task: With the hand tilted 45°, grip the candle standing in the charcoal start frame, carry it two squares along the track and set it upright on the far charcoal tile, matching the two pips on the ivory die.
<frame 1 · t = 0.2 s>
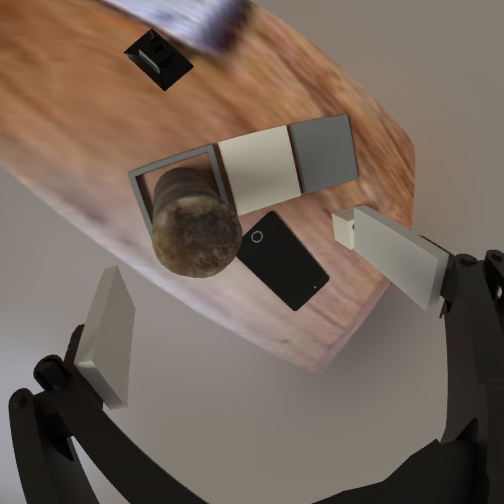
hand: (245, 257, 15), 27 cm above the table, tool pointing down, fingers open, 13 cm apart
black chunky piece: (157, 59, 32), on the table
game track: (253, 170, 41), on the table
cell phone: (282, 264, 49), on the table
die: (345, 222, 49), on the table
candle: (180, 193, 40), resting in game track
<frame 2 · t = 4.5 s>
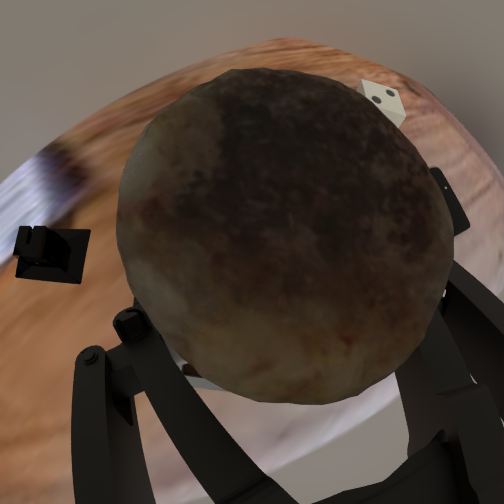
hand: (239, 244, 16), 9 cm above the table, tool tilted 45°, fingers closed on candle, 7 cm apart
black chunky piece: (53, 256, 24), on the table
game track: (259, 200, 27), on the table
cell phone: (407, 216, 29), on the table
die: (368, 123, 32), on the table
candle: (247, 319, 24), resting in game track, touching gripper
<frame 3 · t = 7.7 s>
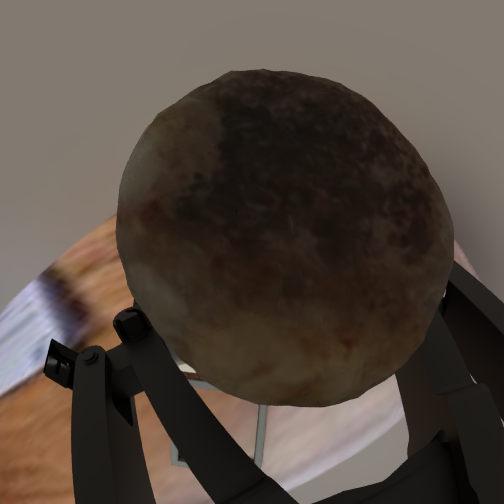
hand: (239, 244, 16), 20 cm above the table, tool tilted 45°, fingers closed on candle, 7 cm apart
black chunky piece: (74, 369, 31), on the table
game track: (224, 342, 34), on the table
candle: (247, 319, 24), point 11 cm above the table, touching gripper
when the fingers open (11 cm above the table, at t = 11.3 s): candle drops 1 cm, resting on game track.
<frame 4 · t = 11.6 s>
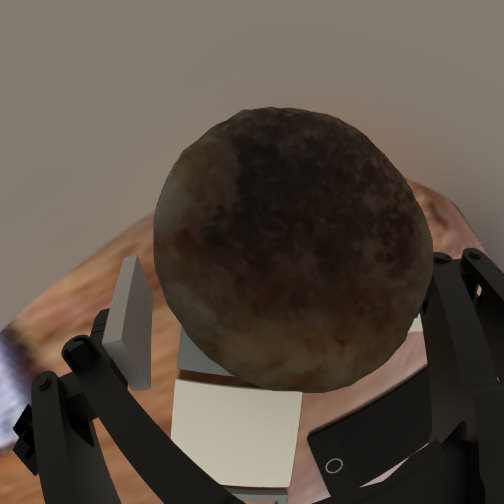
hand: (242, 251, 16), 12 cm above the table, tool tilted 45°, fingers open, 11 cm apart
black chunky piece: (49, 446, 20), on the table
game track: (232, 445, 22), on the table
cell phone: (392, 427, 23), on the table
candle: (248, 321, 25), point 1 cm above the table, touching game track
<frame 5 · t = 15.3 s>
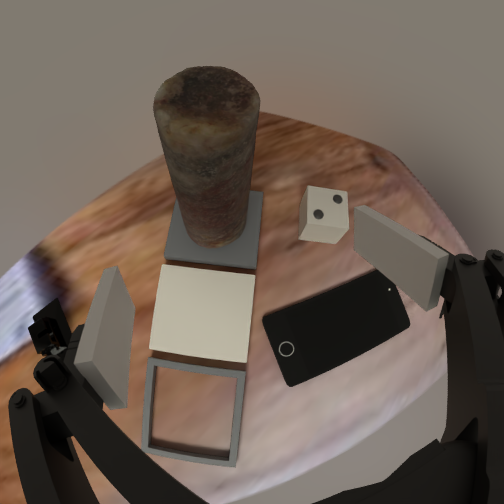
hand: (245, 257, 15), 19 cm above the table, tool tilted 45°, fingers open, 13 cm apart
black chunky piece: (59, 338, 31), on the table
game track: (201, 322, 32), on the table
cell phone: (341, 324, 34), on the table
die: (317, 224, 37), on the table
candle: (216, 223, 35), point 1 cm above the table, touching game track
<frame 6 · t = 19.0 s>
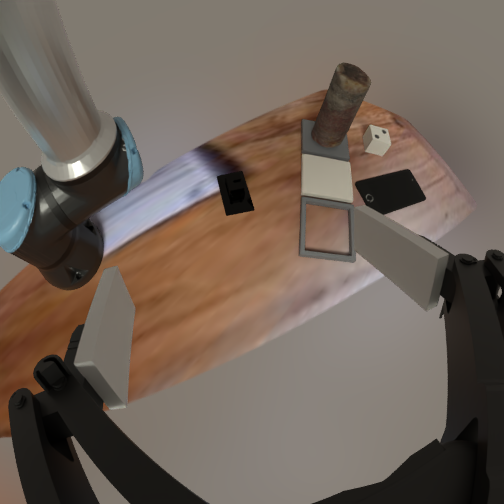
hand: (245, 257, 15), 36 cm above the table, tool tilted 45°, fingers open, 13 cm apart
black chunky piece: (234, 193, 57), on the table
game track: (326, 183, 59), on the table
cell phone: (391, 193, 61), on the table
die: (372, 146, 64), on the table
candle: (326, 138, 62), point 1 cm above the table, touching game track
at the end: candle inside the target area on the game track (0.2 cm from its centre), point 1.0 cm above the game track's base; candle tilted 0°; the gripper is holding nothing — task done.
